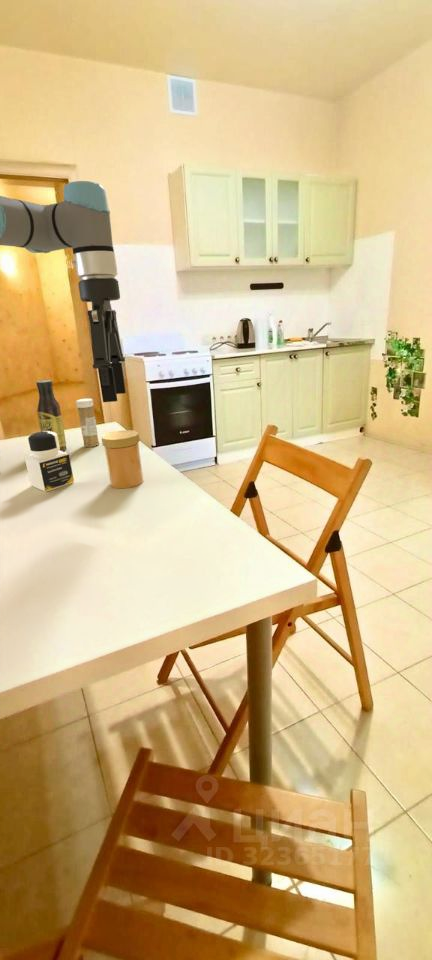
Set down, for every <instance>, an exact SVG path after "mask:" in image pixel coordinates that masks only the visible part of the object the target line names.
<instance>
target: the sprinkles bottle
mask: <svg viewBox="0 0 432 960" xmlns="http://www.w3.org/2000/svg"><path fill="white" fill-rule="evenodd" d="M75 403H76V407H77V411H78V417H79V423H80V430H81V436H82V440H83V446H84V447H86V448H92V447H96V445H97V446H98V445H100V441H99V435H98V426H97V419H96V414H95V409H94V401H93V398H80V399H77V400H76V401H75Z"/></svg>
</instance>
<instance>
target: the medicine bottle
mask: <svg viewBox="0 0 432 960" xmlns="http://www.w3.org/2000/svg"><path fill="white" fill-rule="evenodd" d="M27 440H28V444H29V449H30V454H28V455H25V456H24V463H25V465H26V470H27V475H28V478H29V479H28V480H29V482H30V486H31V487H34V488H36V489H38V490H41V491H43V492H45V493H47V492H50V491H53V490H55V489H59V488H62V487H65V486H68V485H70V484H73V483H75V478H74V474H73V469H72V463H71V458H70V454H69V453H68V452H66V451H60V450H59V449H60V447H59V442H58V437H57V434H56V433H55V432H52V431H43V432H41V431H38V432H34V433H32V434H30V435H29V436H28V437H27Z"/></svg>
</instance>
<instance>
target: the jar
mask: <svg viewBox="0 0 432 960" xmlns="http://www.w3.org/2000/svg"><path fill="white" fill-rule="evenodd" d="M104 452H105V458H106V464H107V471H108V477H109V482H110V486H111V487H112V488H115V489H130V488H135V487H137V486H139V485H141V484H142V483H144V476H143V468H142V459H141V452H140V446H139V442H138V443H137V444H135V445H132V446H128V447H121V448H108V447H104Z"/></svg>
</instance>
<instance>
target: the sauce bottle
mask: <svg viewBox="0 0 432 960" xmlns="http://www.w3.org/2000/svg"><path fill="white" fill-rule="evenodd" d="M53 386H54V385H53V380H52V379H42V380H37V381H36V387H37V390H38V403H37V408H36V409H37V411H36V413H37V414H36V415H37V418H38V423H39V424H38V425H39V432H43V431H52V432H55V433H56V434H57V437H58V442H59V447H60V449H59V450H60V451H63V452H65V451H66V450H67V441H66V434H65V427H64V421H63V415H62V412H61V405H60V403H59V402H58V400H56V398H55V394H54V390H53V389H54V388H53Z"/></svg>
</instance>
